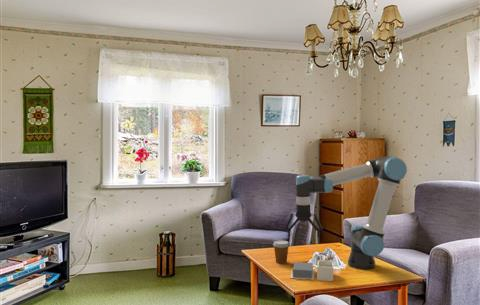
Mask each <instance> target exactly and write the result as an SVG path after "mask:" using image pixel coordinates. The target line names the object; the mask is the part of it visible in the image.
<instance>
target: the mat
mask: <svg viewBox="0 0 480 305" xmlns="http://www.w3.org/2000/svg"><path fill="white" fill-rule="evenodd" d="M291 270H292V271H291V274H290V279H291V278H295V279H294V280H306V279H311V280H310V281H313V280H315V272H314V271H315V268H313V273H312V278H302V277H293V269H291Z"/></svg>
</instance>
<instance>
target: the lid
mask: <svg viewBox="0 0 480 305" xmlns="http://www.w3.org/2000/svg"><path fill="white" fill-rule="evenodd" d="M292 266H293V267H292V270H293V277H302V278H312V273H313V269H314V263H313V262H301V261H299V262H298V261H295V262H294V263H293V265H292Z"/></svg>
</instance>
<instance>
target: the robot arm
mask: <svg viewBox="0 0 480 305" xmlns="http://www.w3.org/2000/svg"><path fill="white" fill-rule="evenodd" d="M407 168H408V167H407V164H406V163H405V162H404V160H402V159H401V158H398V157H395V156H382V157H381V156H380V157H377V158H375V159H372V160H368V161H366V163H364V164H360V165H359V164H358V165H356V166H352V167H347V168H345V169H339V170H335V171H332V172H328V173H325V174H321V175H312V176H310V175H307V174H301V175H297V176H296V178H295V193H296V194H295V201H296V202H295V203H296V212H292V211H291V212H290V217H289V219H288V221H287V223H286V225H285V227H284V230H286V231H287V235H288V237H289V239H290V242H289V244H292V243H293V230H292V229H293V228H294V227H295V226H296V224H297V223H299V222H304V223H305V222H309V224H310V225H311V226H312V227H313V228H314V229H315V245H318V239H319V238H320V235H321V234H320V232H322V231H323V230H324V229H323V226H322V224H321V222H320V221H319V218H318V216H317V212H314V213H313V212H312V213H311V194H315V193H316V194H319V193H320V194H328V193H332V192H333V189H334V186H337V185H341V184H346V183H349V182H353V181H358V180H362V179H365V178H369V177H370V178H371V179H372V178H377V181H378V185H377V188H376V191H375V194H374V198H373V201H372V204H371V209H370V212H369V215H368V218H367V222H366V224H359V225H352V226H351V228H350V253H349V256H348V260H347V265H348V266H349V267H351V268H354V269H359V270H370V269H374V268H375V267H376V260H375V257H374V256H378V255H380V254H381V253H382V252H383V250H384V248H385V242H384V240H383V239H384V237H385V231H384V230H383V229H384V226H385V222H386V219H387V216H388V212H389V209H390V206H391V202H392V199H393V197H394V193H395V189H396V187H398V186H400V184H401V180H402V179H404V177H405V176H406V175H407V171H408V169H407ZM294 217H296V219H295V220H294V221H293V222H292V219H293V218H294ZM311 218H314V220H315V223H316V224H317V225H316V224H315V223H314V222H313V220H312V219H311ZM291 222H292V223H291ZM290 224H291V225H290ZM289 225H290V226H289Z"/></svg>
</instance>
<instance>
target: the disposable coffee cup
mask: <svg viewBox="0 0 480 305" xmlns="http://www.w3.org/2000/svg"><path fill="white" fill-rule="evenodd" d="M272 245H273V248H274V249H273V250H274V255H275V263H276V264H279V265H280V264H282V265H284V264H286V263H287V261H288V254H289V246H290V242H289V241H287V240H280V239H279V240H275V241H273V244H272Z"/></svg>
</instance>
